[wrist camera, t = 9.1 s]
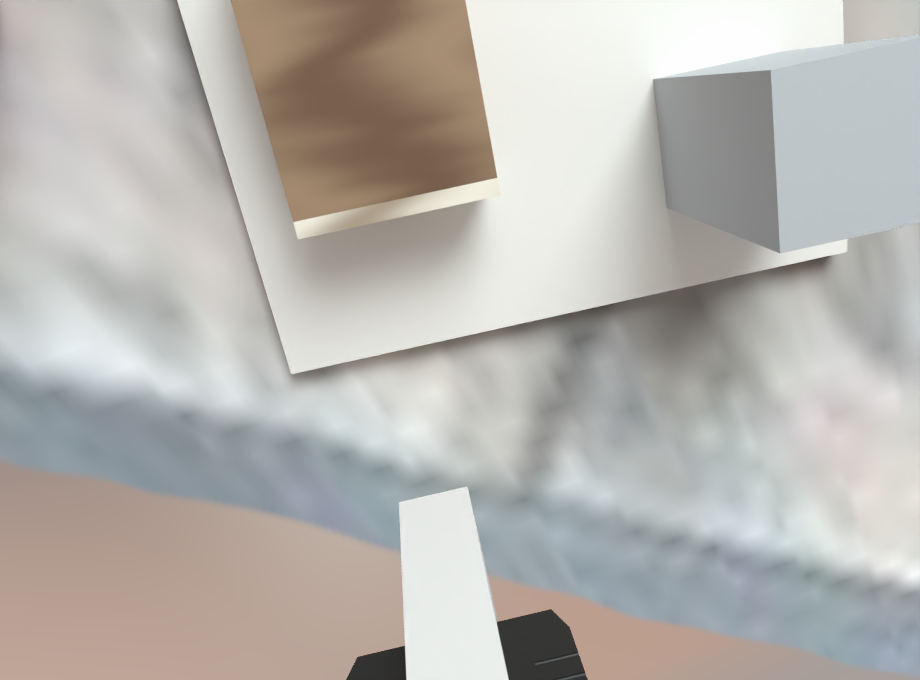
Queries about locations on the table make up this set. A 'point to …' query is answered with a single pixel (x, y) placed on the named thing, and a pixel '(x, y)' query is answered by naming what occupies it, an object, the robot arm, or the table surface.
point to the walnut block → (369, 107)
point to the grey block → (796, 143)
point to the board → (511, 177)
